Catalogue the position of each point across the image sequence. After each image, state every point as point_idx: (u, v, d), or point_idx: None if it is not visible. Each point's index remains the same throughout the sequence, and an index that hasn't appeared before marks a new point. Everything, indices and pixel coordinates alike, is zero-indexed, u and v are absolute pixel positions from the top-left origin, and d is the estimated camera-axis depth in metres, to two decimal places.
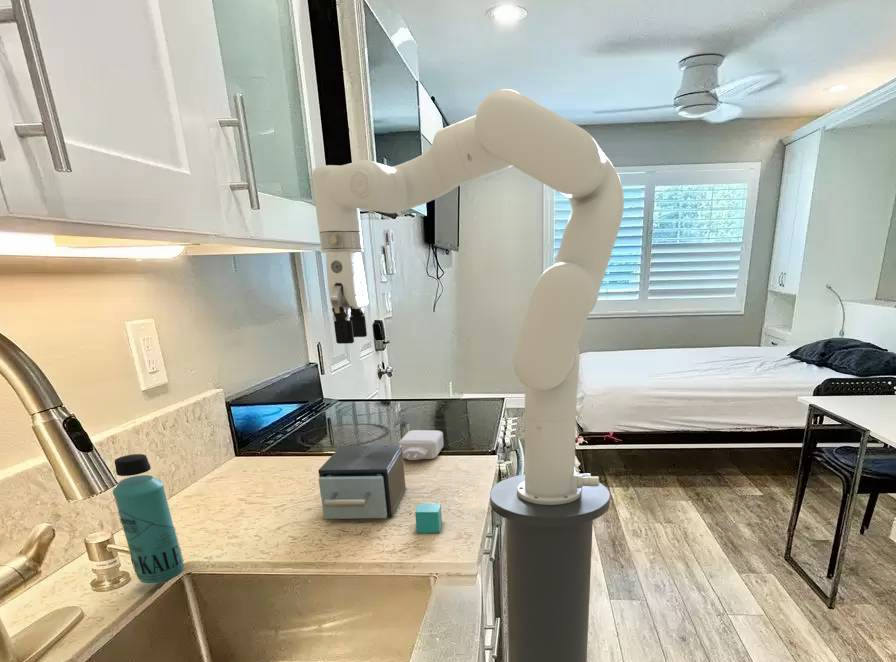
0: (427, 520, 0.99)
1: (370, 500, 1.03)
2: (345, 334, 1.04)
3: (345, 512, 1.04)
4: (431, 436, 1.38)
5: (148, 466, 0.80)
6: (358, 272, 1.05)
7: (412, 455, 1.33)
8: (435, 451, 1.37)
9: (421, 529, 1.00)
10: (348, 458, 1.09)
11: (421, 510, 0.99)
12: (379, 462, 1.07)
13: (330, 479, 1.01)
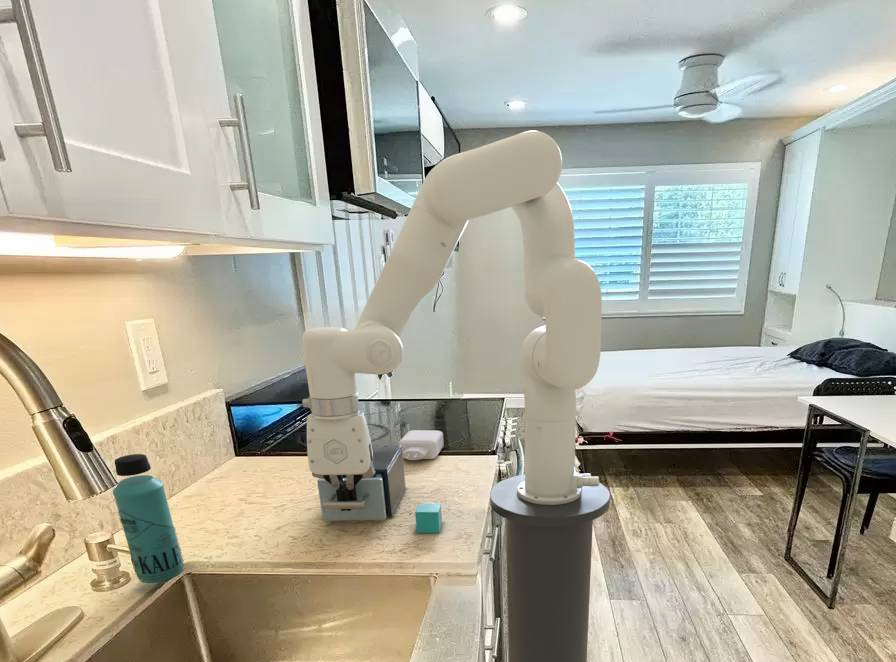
0: (427, 520, 0.99)
1: (369, 502, 1.02)
2: None
3: (344, 514, 1.03)
4: (431, 437, 1.38)
5: (148, 466, 0.80)
6: (327, 439, 0.93)
7: (412, 455, 1.33)
8: (435, 451, 1.37)
9: (421, 529, 1.00)
10: None
11: (421, 510, 0.99)
12: (379, 462, 1.07)
13: None
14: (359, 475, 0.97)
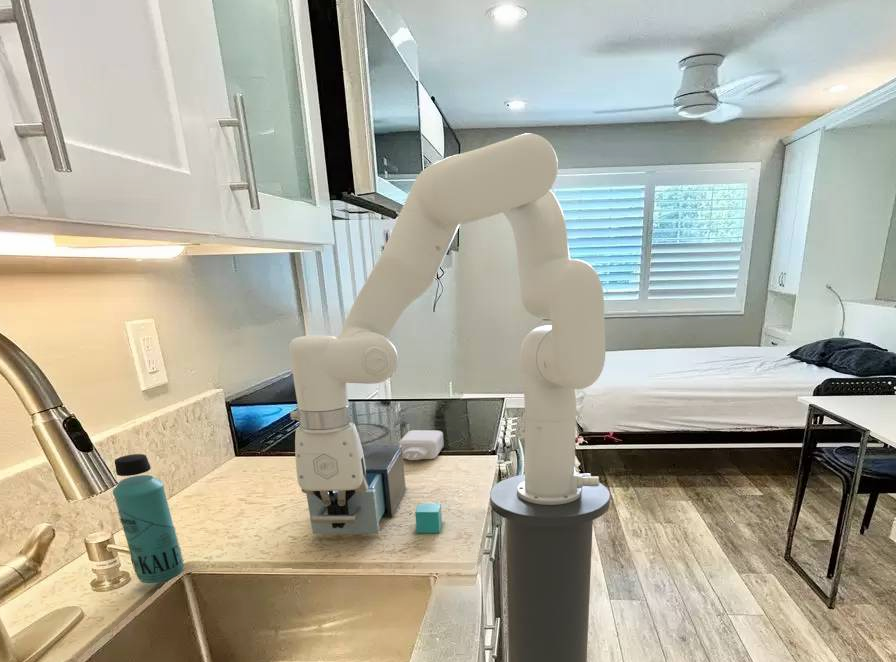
0: (427, 520, 0.99)
1: (362, 515, 0.97)
2: None
3: None
4: (431, 437, 1.38)
5: (148, 466, 0.80)
6: (317, 453, 0.88)
7: (412, 455, 1.33)
8: (435, 451, 1.37)
9: (421, 529, 1.00)
10: None
11: (421, 510, 0.99)
12: (379, 462, 1.07)
13: None
14: (351, 491, 0.92)
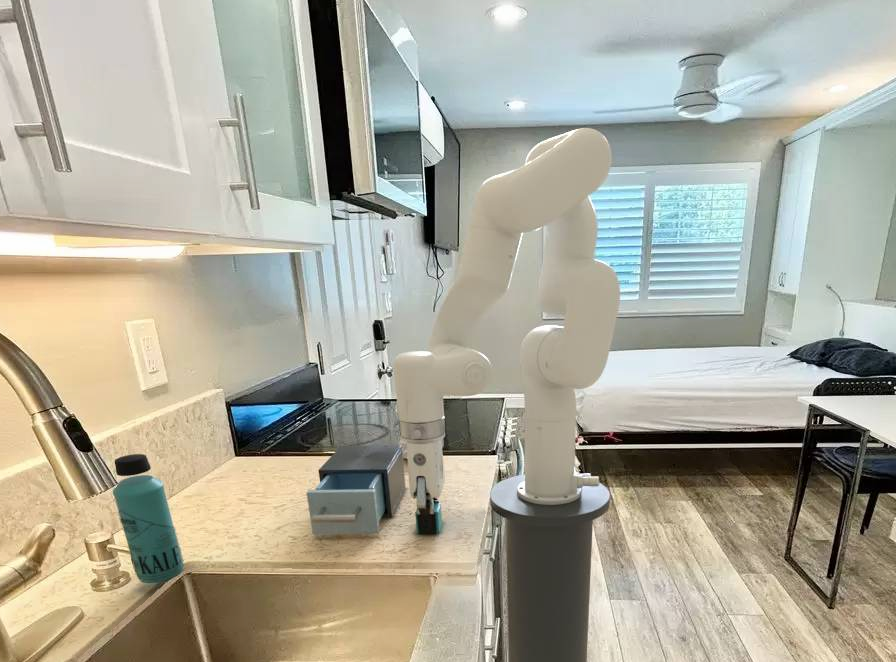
0: None
1: (362, 515, 0.97)
2: (429, 527, 0.98)
3: (335, 527, 0.98)
4: None
5: (148, 466, 0.80)
6: (440, 458, 0.96)
7: None
8: None
9: None
10: (348, 458, 1.09)
11: None
12: (379, 462, 1.07)
13: (319, 493, 0.96)
14: None
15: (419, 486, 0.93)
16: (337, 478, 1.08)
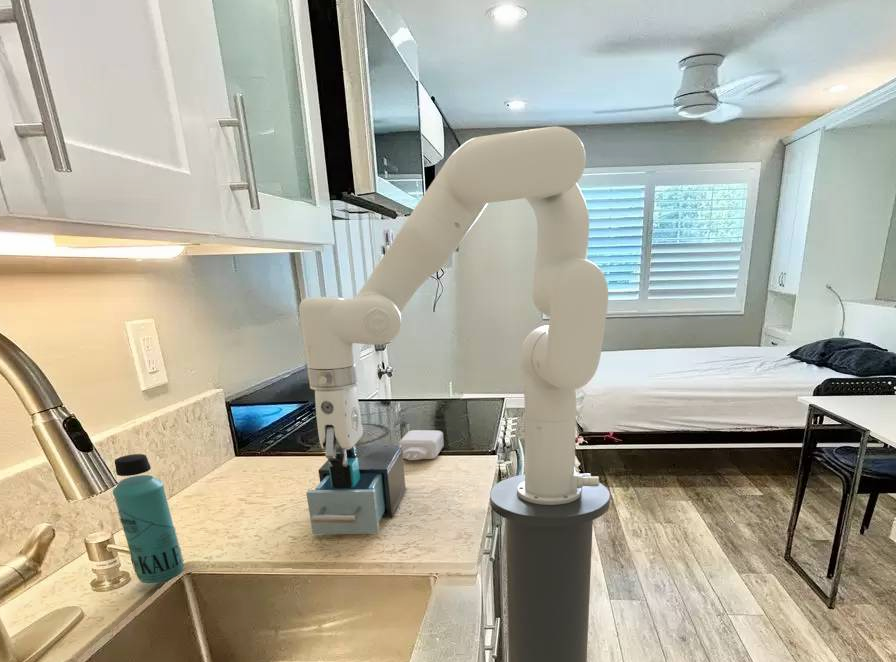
0: None
1: (362, 515, 0.97)
2: (342, 480, 0.96)
3: (335, 527, 0.98)
4: (431, 436, 1.38)
5: (148, 466, 0.80)
6: (351, 408, 0.93)
7: (412, 455, 1.33)
8: (435, 451, 1.37)
9: None
10: None
11: None
12: (379, 462, 1.07)
13: (319, 493, 0.95)
14: None
15: (328, 436, 0.91)
16: None
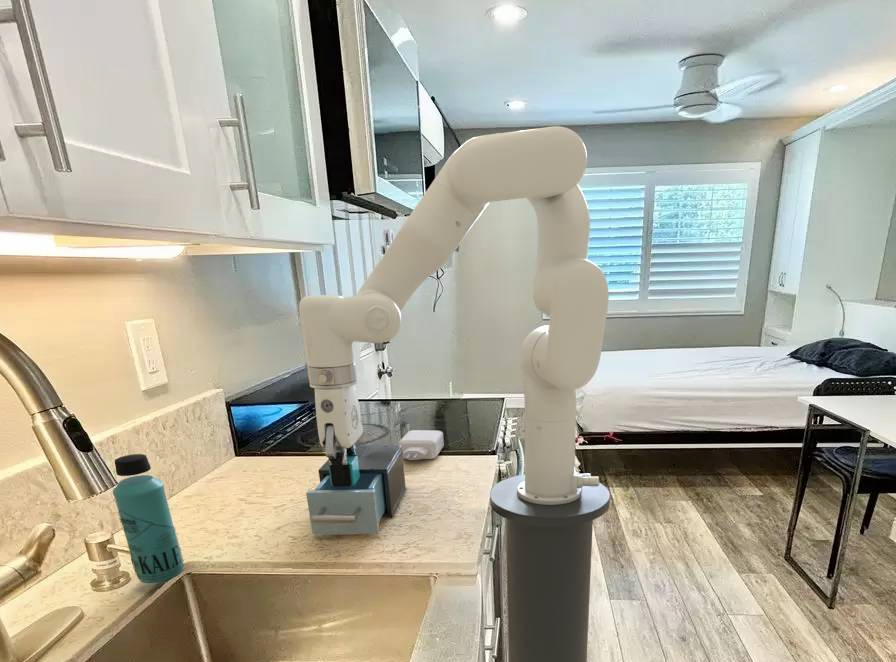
0: None
1: (361, 515, 0.97)
2: (342, 478, 0.96)
3: (335, 528, 0.98)
4: (431, 436, 1.38)
5: (148, 466, 0.80)
6: (351, 406, 0.93)
7: (412, 455, 1.33)
8: (435, 451, 1.37)
9: None
10: None
11: None
12: (379, 462, 1.07)
13: (318, 493, 0.95)
14: None
15: (328, 434, 0.91)
16: None
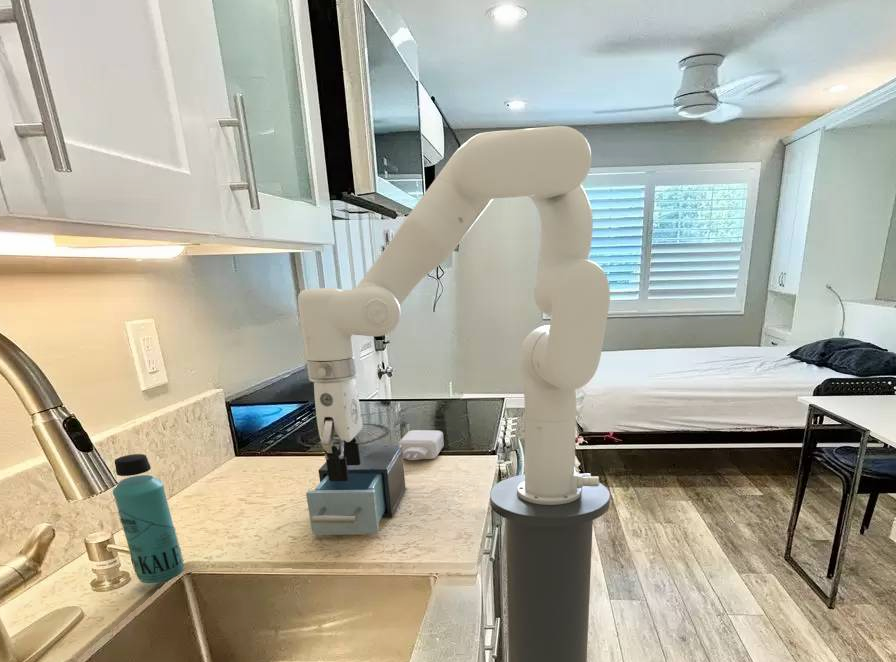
0: None
1: (361, 515, 0.97)
2: (338, 473, 0.93)
3: (334, 528, 0.98)
4: (431, 436, 1.38)
5: (148, 466, 0.80)
6: (351, 400, 0.93)
7: (412, 455, 1.33)
8: (435, 451, 1.37)
9: None
10: None
11: None
12: (379, 462, 1.07)
13: (318, 493, 0.95)
14: None
15: None
16: None
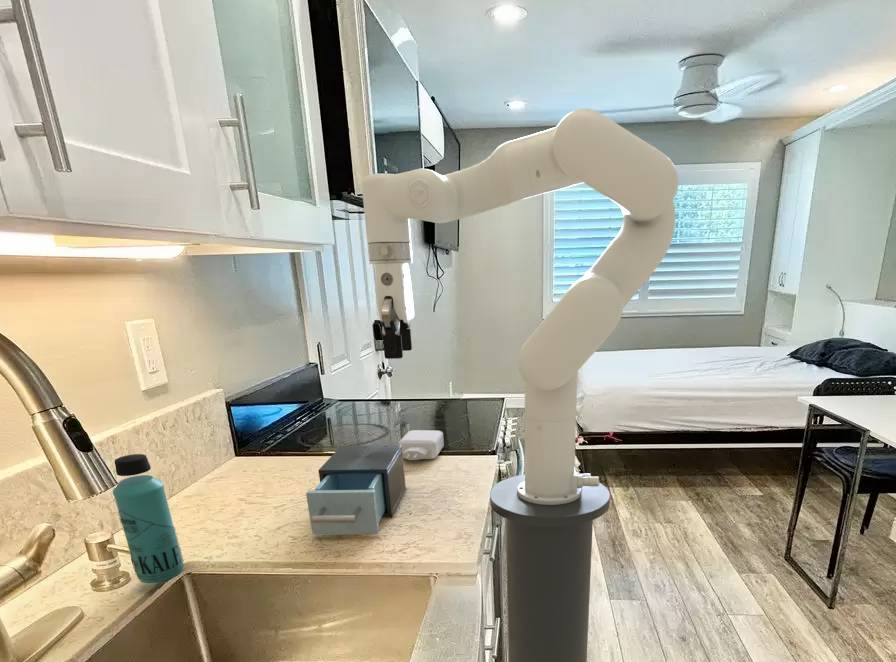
0: None
1: (361, 515, 0.97)
2: (394, 349, 1.00)
3: (334, 528, 0.98)
4: (431, 437, 1.38)
5: (148, 466, 0.80)
6: (407, 284, 1.01)
7: (412, 455, 1.33)
8: (435, 451, 1.37)
9: None
10: (348, 458, 1.09)
11: None
12: (379, 462, 1.07)
13: (318, 493, 0.95)
14: None
15: None
16: (337, 478, 1.07)
